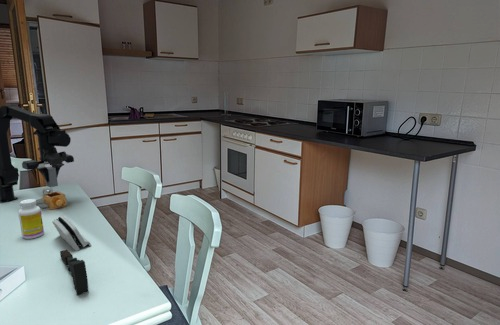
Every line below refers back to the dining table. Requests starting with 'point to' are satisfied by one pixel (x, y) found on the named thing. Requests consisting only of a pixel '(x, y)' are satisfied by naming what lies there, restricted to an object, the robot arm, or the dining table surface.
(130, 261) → the dining table surface
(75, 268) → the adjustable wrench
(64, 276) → the dining table surface
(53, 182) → the tall grey box
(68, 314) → the dining table surface
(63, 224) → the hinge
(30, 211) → the supplement bottle
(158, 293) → the dining table surface
